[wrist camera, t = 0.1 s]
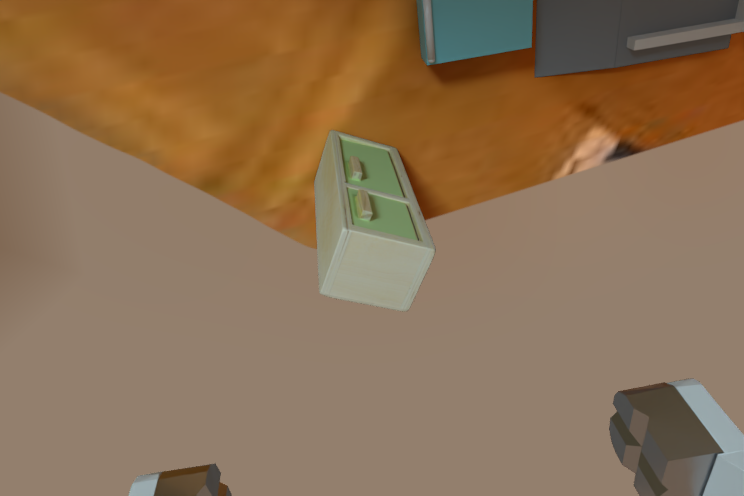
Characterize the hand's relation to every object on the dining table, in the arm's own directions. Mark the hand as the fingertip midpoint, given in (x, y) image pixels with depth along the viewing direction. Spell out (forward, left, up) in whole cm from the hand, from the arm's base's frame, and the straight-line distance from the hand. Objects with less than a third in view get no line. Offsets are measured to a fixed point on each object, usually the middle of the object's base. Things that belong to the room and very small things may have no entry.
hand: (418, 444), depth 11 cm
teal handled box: (+1, +13, -48) cm, 50 cm away
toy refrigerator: (+15, 0, -48) cm, 50 cm away
